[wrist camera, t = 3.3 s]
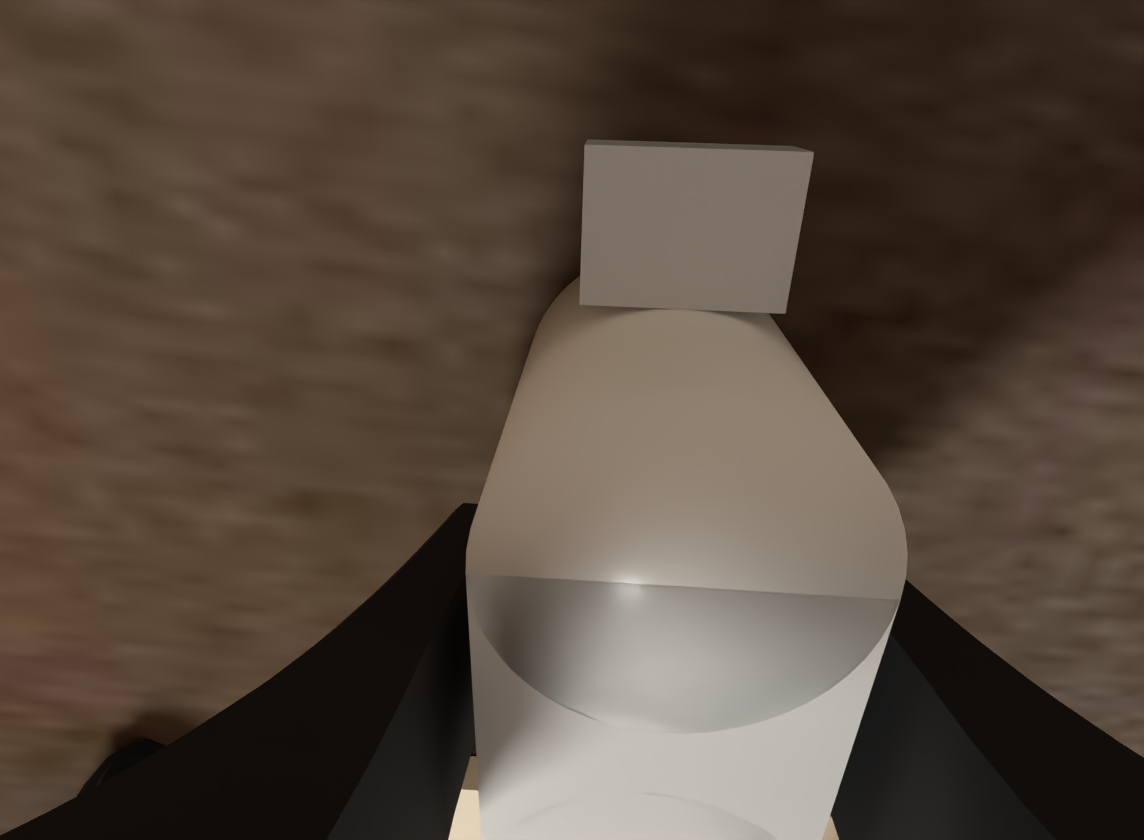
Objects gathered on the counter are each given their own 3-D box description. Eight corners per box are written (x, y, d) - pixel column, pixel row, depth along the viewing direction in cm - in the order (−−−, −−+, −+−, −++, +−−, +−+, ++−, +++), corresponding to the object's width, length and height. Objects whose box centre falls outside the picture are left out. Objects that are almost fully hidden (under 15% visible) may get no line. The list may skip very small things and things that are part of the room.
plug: (528, 127, 9) (441, 162, 5) (823, 137, 9) (1036, 183, 4) (530, 679, 14) (488, 962, 9) (721, 692, 14) (774, 987, 9)
